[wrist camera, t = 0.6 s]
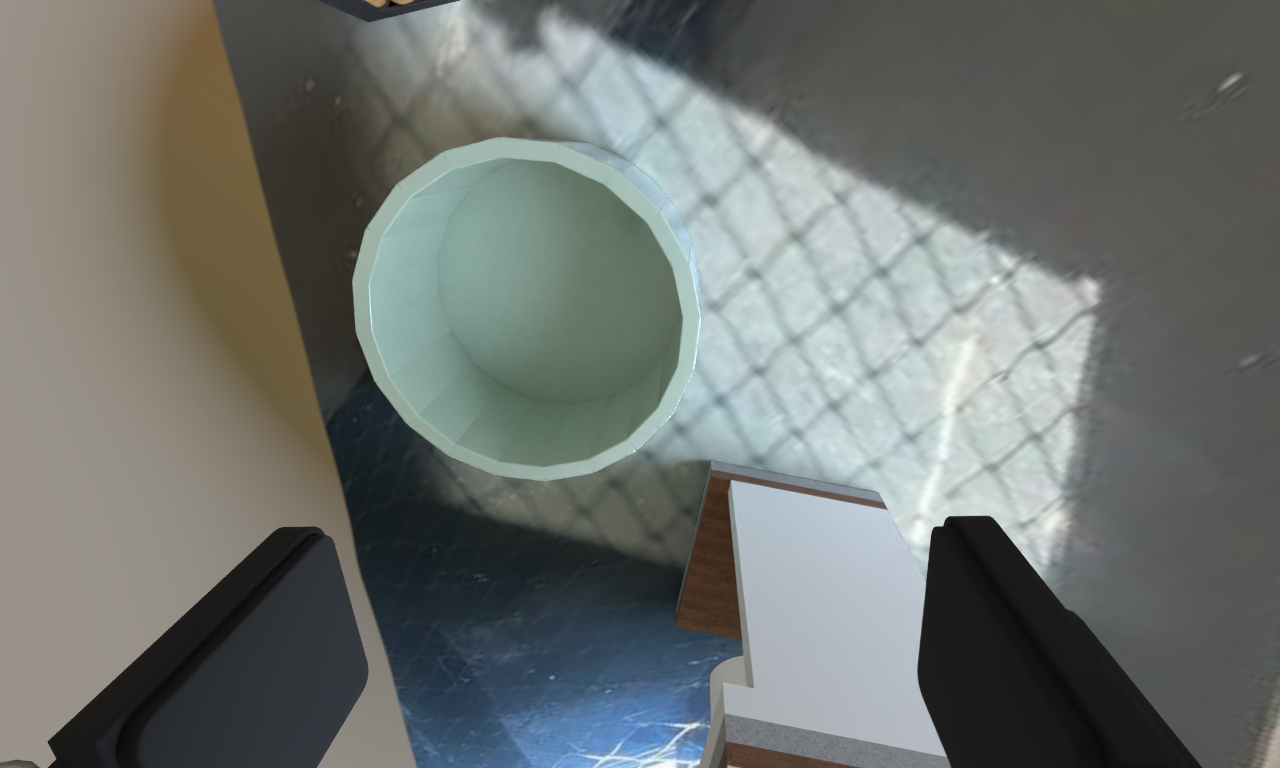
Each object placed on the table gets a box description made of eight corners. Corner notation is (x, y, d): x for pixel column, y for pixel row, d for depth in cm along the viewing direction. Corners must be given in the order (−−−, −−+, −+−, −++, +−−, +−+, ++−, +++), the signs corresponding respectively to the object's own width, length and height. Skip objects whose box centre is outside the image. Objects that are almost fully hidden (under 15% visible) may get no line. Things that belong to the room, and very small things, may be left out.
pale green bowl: (392, 177, 36) (298, 187, 27) (666, 108, 33) (656, 95, 25) (477, 429, 41) (420, 502, 32) (720, 384, 38) (728, 451, 30)
